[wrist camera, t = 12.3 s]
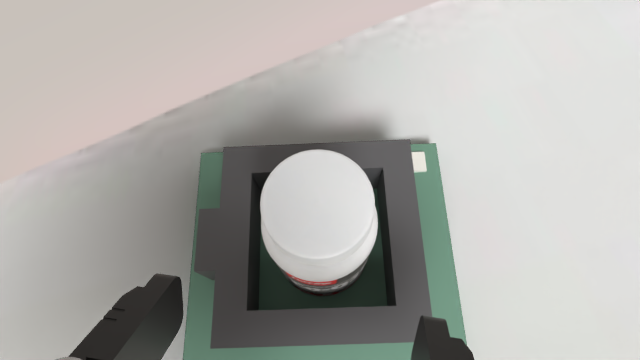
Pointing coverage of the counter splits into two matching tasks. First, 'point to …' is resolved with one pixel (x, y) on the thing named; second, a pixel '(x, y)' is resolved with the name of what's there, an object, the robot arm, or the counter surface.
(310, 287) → the pill bottle
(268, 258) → the socket board
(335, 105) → the counter surface
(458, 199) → the counter surface
